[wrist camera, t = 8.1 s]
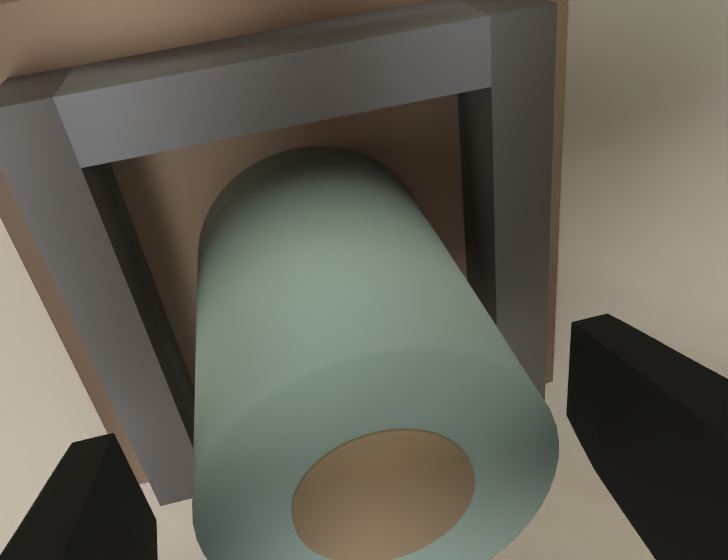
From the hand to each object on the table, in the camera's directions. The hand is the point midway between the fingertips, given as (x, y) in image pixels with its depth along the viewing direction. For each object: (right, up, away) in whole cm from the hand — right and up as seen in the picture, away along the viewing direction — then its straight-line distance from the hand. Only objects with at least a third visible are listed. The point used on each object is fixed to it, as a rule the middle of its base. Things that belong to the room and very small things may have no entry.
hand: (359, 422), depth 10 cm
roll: (-1, +3, +5) cm, 6 cm away
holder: (-1, +3, +5) cm, 6 cm away
